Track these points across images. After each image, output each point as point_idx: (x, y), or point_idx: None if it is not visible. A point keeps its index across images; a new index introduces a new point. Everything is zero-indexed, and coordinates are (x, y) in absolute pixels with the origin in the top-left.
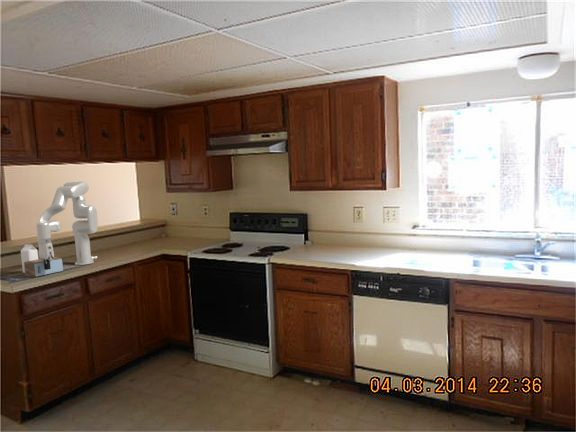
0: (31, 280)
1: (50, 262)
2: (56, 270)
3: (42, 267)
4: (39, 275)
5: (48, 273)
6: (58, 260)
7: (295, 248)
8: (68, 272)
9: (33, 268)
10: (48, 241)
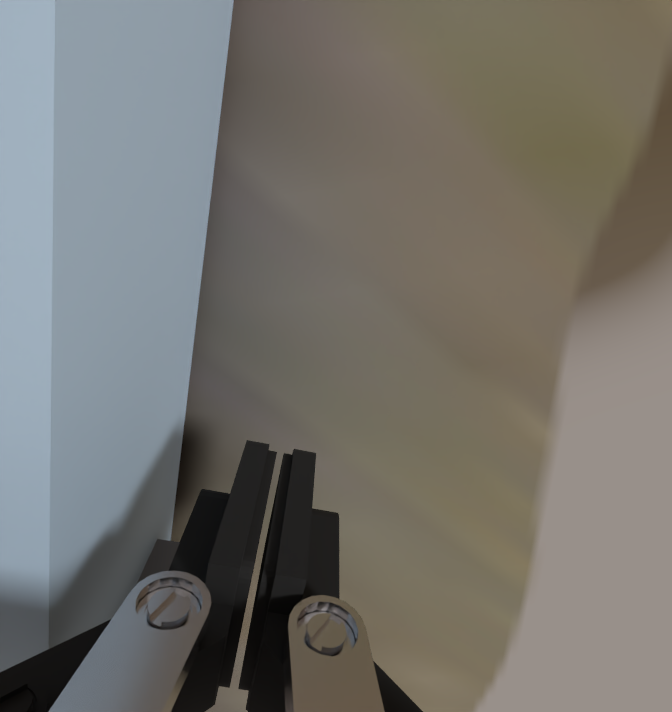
0: None
1: (83, 391)
2: (207, 143)
3: (117, 564)
4: (172, 514)
5: (191, 348)
6: None
7: None
8: (543, 45)
9: None
10: None
